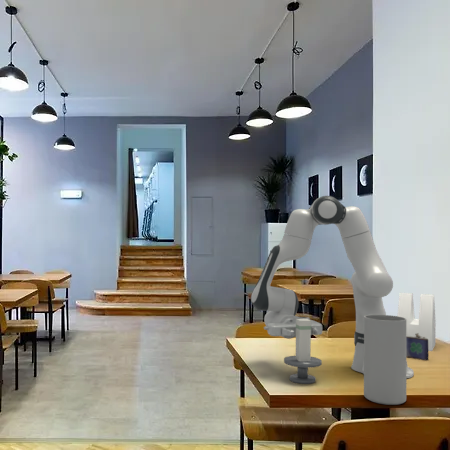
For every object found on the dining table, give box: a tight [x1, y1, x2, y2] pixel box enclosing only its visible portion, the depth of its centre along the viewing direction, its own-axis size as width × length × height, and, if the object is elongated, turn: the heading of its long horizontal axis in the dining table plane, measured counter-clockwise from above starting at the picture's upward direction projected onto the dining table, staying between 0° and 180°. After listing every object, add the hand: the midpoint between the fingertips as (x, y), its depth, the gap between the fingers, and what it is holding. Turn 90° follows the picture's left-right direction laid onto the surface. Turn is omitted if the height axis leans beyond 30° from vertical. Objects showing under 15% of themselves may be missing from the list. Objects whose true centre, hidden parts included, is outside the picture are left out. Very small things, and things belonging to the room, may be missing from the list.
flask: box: [406, 333, 430, 361], centre depth 199 cm, size 9×3×11 cm, turn 50°
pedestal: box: [283, 355, 323, 385], centre depth 163 cm, size 13×13×7 cm
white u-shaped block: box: [397, 292, 437, 352], centre depth 226 cm, size 19×15×25 cm
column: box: [295, 319, 312, 361], centre depth 164 cm, size 4×4×14 cm
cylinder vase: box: [363, 314, 407, 406], centre depth 145 cm, size 12×12×25 cm
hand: (304, 333), depth 163 cm, fingers open, 8 cm apart
